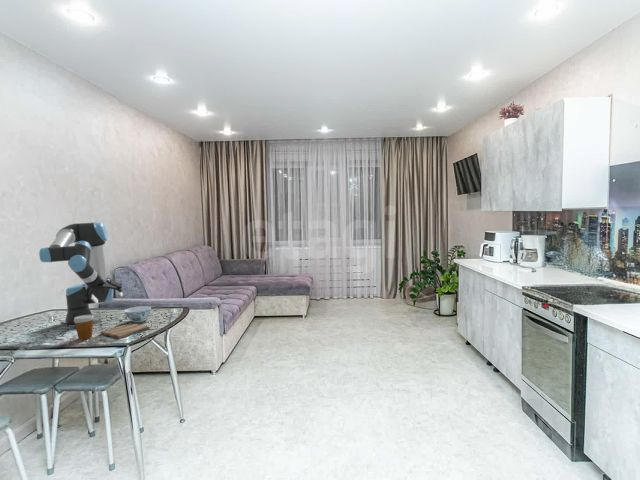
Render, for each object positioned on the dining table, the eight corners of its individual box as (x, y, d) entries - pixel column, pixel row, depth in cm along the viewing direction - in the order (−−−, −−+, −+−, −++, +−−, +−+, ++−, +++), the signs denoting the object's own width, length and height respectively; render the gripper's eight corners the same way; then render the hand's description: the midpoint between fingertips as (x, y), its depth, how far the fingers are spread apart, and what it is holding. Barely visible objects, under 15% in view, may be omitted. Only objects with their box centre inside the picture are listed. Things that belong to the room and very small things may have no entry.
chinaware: (141, 324, 233) (140, 312, 233) (120, 324, 236) (118, 312, 236) (156, 317, 248) (155, 306, 247) (136, 317, 251) (135, 305, 250)
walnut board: (101, 334, 218) (101, 331, 217) (131, 325, 233) (131, 323, 233) (119, 338, 208) (118, 335, 208) (149, 329, 223) (149, 326, 223)
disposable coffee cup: (81, 336, 216) (79, 315, 215) (98, 334, 217) (96, 313, 216) (71, 341, 206) (69, 319, 205) (90, 340, 207) (88, 318, 206)
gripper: (65, 290, 200) (86, 310, 216) (114, 276, 204) (132, 297, 220) (66, 278, 205) (87, 299, 221) (115, 265, 209) (132, 286, 225)
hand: (109, 298), depth 221 cm, fingers open, 13 cm apart
